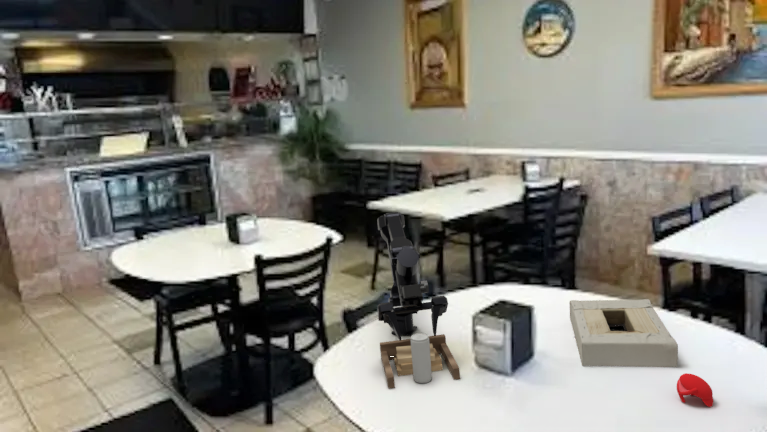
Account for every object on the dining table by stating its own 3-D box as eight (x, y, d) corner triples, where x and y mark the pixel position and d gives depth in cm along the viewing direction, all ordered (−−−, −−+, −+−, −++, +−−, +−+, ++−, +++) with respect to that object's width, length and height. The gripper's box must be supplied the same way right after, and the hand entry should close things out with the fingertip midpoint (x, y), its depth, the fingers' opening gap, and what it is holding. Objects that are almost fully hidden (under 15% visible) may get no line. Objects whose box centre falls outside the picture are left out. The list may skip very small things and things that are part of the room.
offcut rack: (381, 359, 168) (379, 342, 167) (445, 350, 170) (444, 334, 169) (388, 388, 151) (386, 370, 150) (460, 378, 153) (458, 360, 152)
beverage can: (410, 382, 153) (407, 339, 151) (418, 374, 157) (414, 331, 155) (427, 385, 151) (424, 341, 148) (435, 376, 155) (431, 333, 152)
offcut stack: (394, 362, 165) (392, 347, 164) (436, 356, 166) (435, 341, 165) (398, 376, 157) (396, 360, 156) (442, 370, 158) (441, 354, 157)
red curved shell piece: (667, 387, 133) (689, 383, 128) (676, 370, 137) (698, 365, 132) (691, 415, 133) (714, 412, 128) (700, 396, 136) (723, 393, 131)
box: (679, 370, 148) (649, 319, 179) (679, 341, 147) (648, 295, 177) (582, 370, 153) (568, 321, 184) (581, 343, 151) (567, 298, 182)
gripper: (374, 275, 156) (383, 330, 148) (444, 266, 158) (456, 320, 149) (374, 294, 165) (382, 346, 157) (440, 286, 167) (451, 337, 158)
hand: (417, 337), depth 155 cm, fingers open, 9 cm apart
